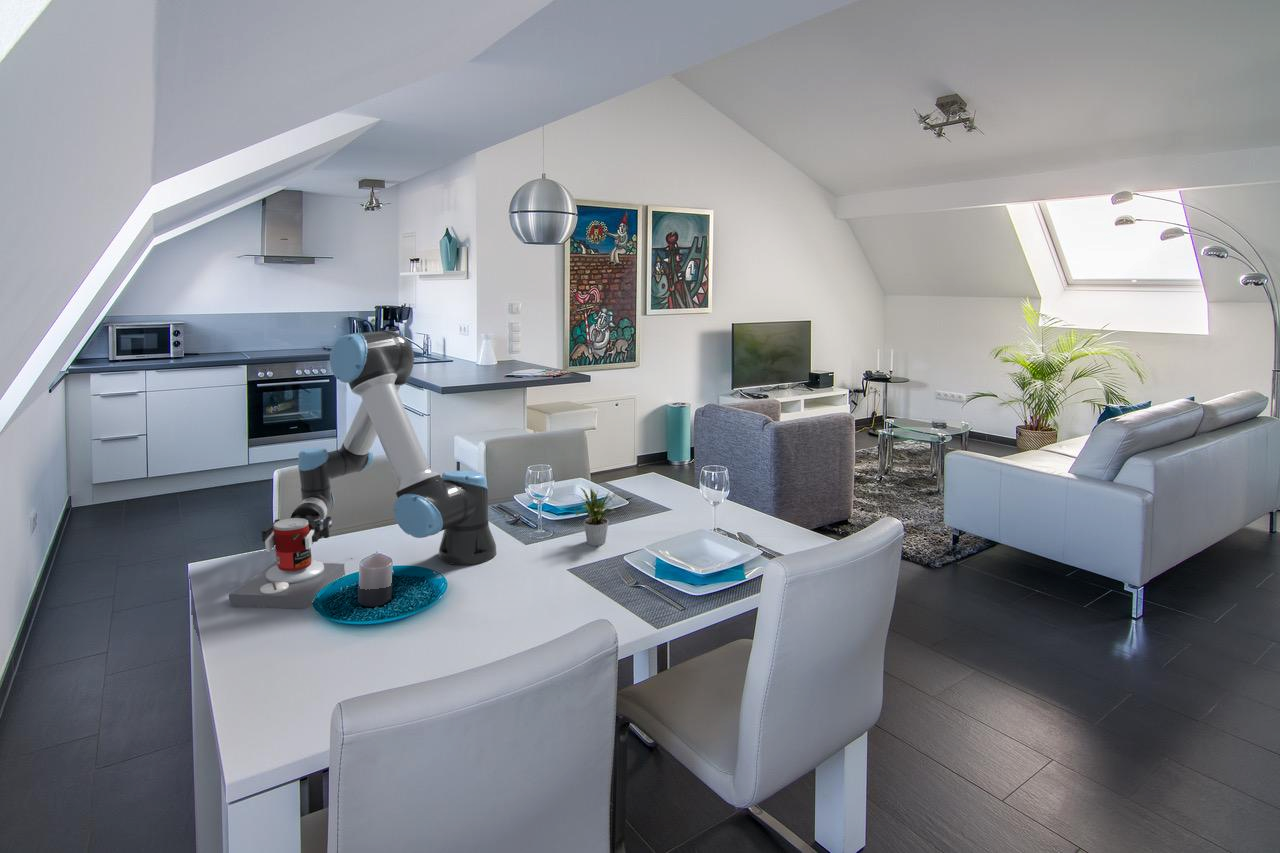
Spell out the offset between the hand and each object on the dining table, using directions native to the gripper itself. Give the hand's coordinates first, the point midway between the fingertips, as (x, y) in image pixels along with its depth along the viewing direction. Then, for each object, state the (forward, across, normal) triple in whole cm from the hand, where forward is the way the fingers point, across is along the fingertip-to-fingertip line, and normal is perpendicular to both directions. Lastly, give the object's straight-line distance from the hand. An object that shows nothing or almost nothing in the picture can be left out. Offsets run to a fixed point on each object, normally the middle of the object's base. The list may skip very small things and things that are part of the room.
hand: (287, 545), depth 183 cm
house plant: (-22, -75, -12) cm, 79 cm away
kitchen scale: (-2, +1, -12) cm, 12 cm away
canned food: (-5, 0, -7) cm, 9 cm away
